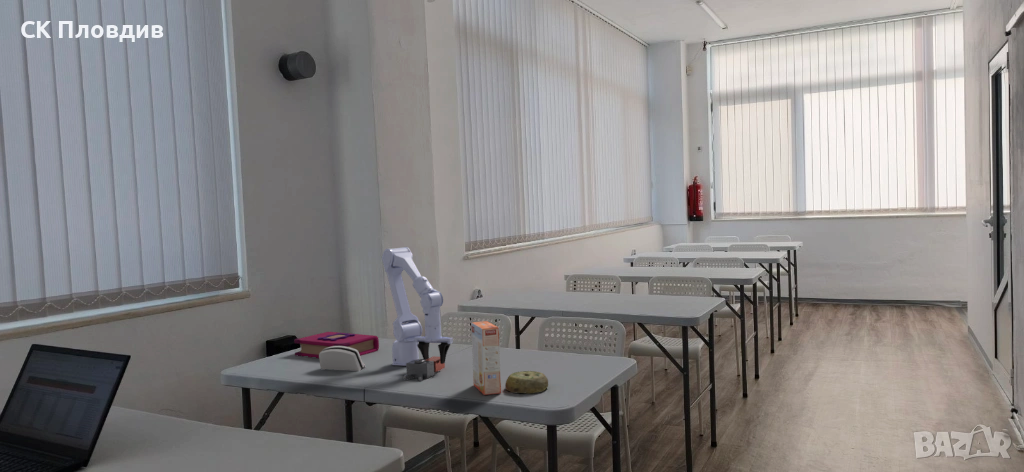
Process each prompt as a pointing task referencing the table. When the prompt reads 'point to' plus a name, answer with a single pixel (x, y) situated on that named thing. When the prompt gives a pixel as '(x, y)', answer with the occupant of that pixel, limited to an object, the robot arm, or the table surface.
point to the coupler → (419, 369)
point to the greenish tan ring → (526, 382)
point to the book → (336, 343)
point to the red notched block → (436, 363)
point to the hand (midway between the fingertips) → (434, 362)
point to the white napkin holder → (341, 358)
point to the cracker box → (486, 357)
